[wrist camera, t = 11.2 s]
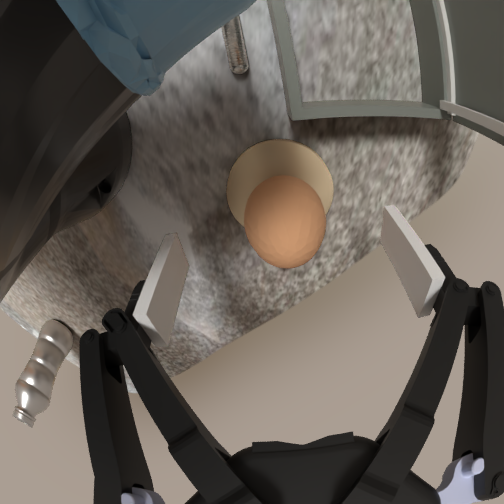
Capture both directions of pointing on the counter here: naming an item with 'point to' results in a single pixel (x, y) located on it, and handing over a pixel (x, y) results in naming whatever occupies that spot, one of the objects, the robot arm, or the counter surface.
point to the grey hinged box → (425, 68)
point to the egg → (285, 221)
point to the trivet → (276, 172)
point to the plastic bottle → (42, 371)
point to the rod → (235, 46)
